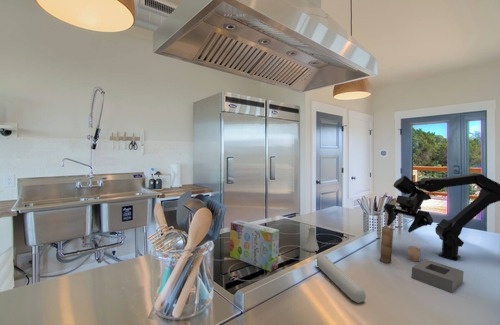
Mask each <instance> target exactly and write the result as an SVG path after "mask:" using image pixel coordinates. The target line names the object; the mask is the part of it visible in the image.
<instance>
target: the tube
mask: <svg viewBox="0 0 500 325" xmlns="http://www.w3.org/2000/svg"><path fill="white" fill-rule="evenodd" d="M315 259H317V265H318V268H319V269H320V270H321V271H322V273H324V274H325V275H326V277H328V278H329V279H330V280H331V281H332V282H333V283H334V284H335V285H336V286H337V287H338V288H339V289H341V291H342V293H344V294H345V295H346V296H347V297H348V298H349V299H350V300H352V301H353V302H354V303H357V304H360V303H362V302H364V301H365V299H366V290H365V289H364V288H363V287H362V286H361V285H359V284H358V283H357V282H356V281H355V280H353V279H352V278H351V277H350V276H349V275H347V274H346V273H345V272H344V271H343V270H342V269H340V267H338V266H337V265H336V264H335V263H334V262H332V261H331V259H329V258H328V257H327V255H325V254H318V255H317V256H316V257H315Z"/></svg>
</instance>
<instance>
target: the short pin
mask: <svg viewBox="0 0 500 325" xmlns="http://www.w3.org/2000/svg"><path fill="white" fill-rule="evenodd" d="M420 249H421V248H419V247H417V246H411V245H410V246H408V254H407V255H408V256H407V260H409V261H411V262H415V263H417V262H418V263H419V262H420V253H421V251H420Z"/></svg>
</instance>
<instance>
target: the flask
mask: <svg viewBox="0 0 500 325" xmlns="http://www.w3.org/2000/svg"><path fill="white" fill-rule="evenodd" d="M307 229H308V235H307V238H306V241H305V243H304V246H303V248H302V250H303V251H306V252H309V253H310V252H311V253H316V252H315V251H317V252H319V251H320V247H319V244H318V242H317V238H316V234H315V232H316V227H314V226H313V227H312V226H309V227H308V228H307ZM318 250H319V251H318Z"/></svg>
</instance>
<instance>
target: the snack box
mask: <svg viewBox="0 0 500 325" xmlns="http://www.w3.org/2000/svg"><path fill="white" fill-rule="evenodd" d="M229 234H230V235H229V236H230V240H229V242H230V243H229V257H230V258H233V259H236V260H238V261H241V262H242V263H243V262H244V263H247V264H249V265H251V266H255V267H256V268H260V269H262V270H265V271H267V272H270V273H272V272H273V271H275V270H277V269H278V268H279V243H280V229H277V228H273V227H269V226H264V225H261V224H257V223H254V222H253V223H252V222H250V221H249V222H248V221H245V220H240V219H237V220H234V221H231V222H230V233H229Z"/></svg>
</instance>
